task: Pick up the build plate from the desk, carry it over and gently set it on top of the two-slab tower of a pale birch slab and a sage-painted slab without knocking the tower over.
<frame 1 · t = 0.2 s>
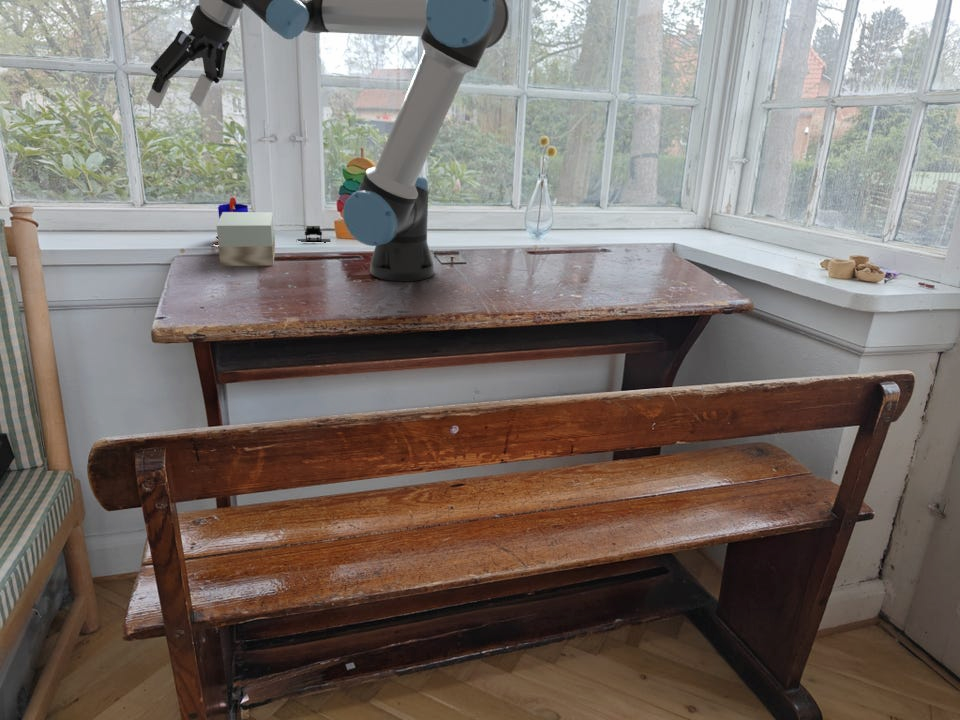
hand: (174, 103, 143), 36 cm above the table, tool tilted 35°, fingers open, 13 cm apart
build plate: (313, 244, 182), on the table
base block: (249, 258, 164), on the table, touching top block
top block: (247, 238, 162), point 5 cm above the table, touching base block
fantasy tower: (236, 243, 177), on the table
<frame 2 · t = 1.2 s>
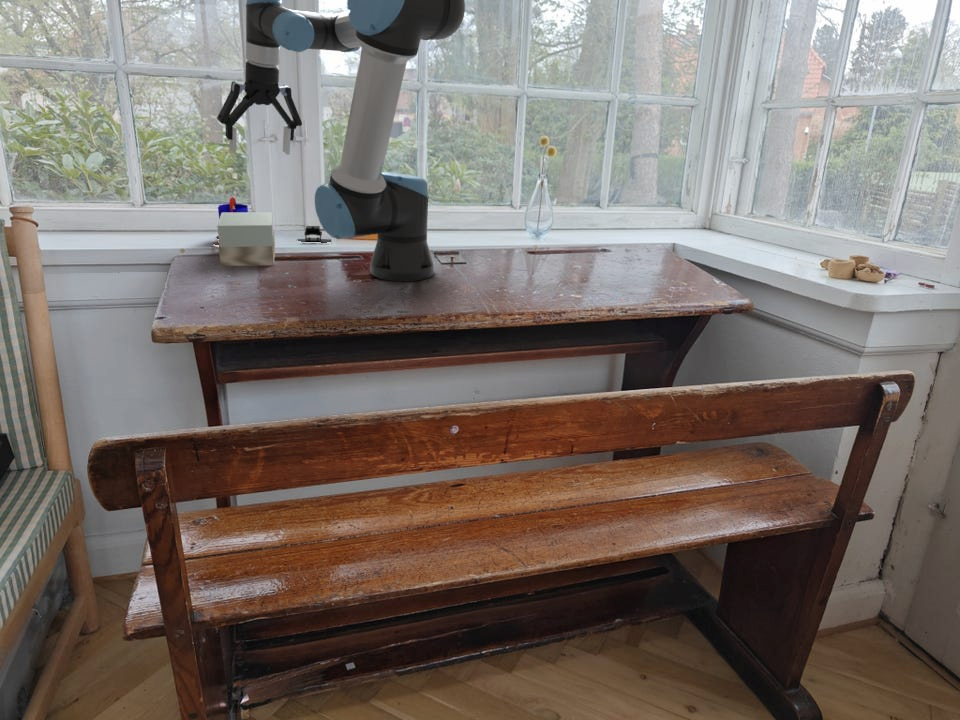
hand: (260, 152, 166), 24 cm above the table, tool pointing down, fingers open, 13 cm apart
base block: (249, 258, 164), on the table
top block: (247, 239, 162), point 5 cm above the table
everything else where it was.
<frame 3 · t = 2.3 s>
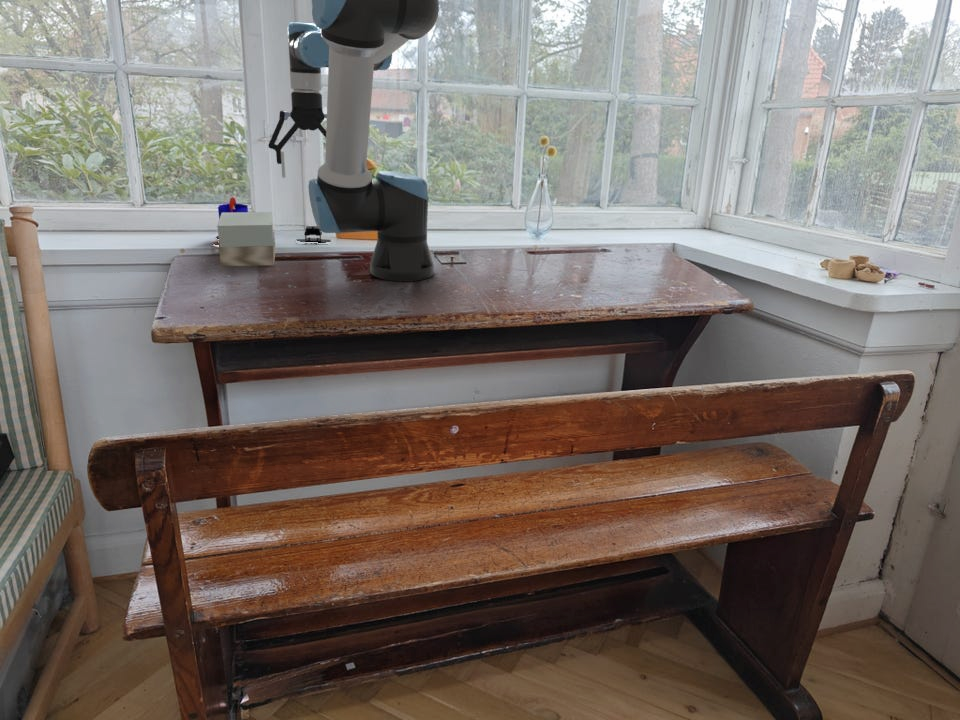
hand: (310, 177, 175), 17 cm above the table, tool pointing down, fingers open, 13 cm apart
base block: (249, 258, 164), on the table, touching top block
top block: (247, 238, 162), point 5 cm above the table, touching base block
everything else where it was.
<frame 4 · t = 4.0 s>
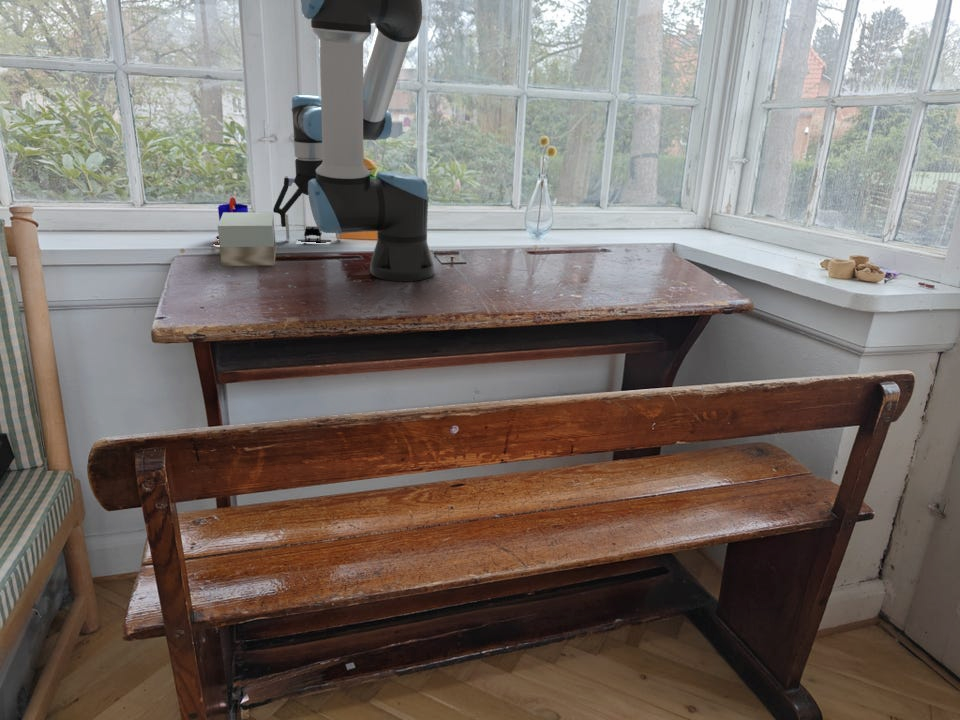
hand: (313, 238, 182), 1 cm above the table, tool pointing down, fingers open, 13 cm apart
nothing on the table moved.
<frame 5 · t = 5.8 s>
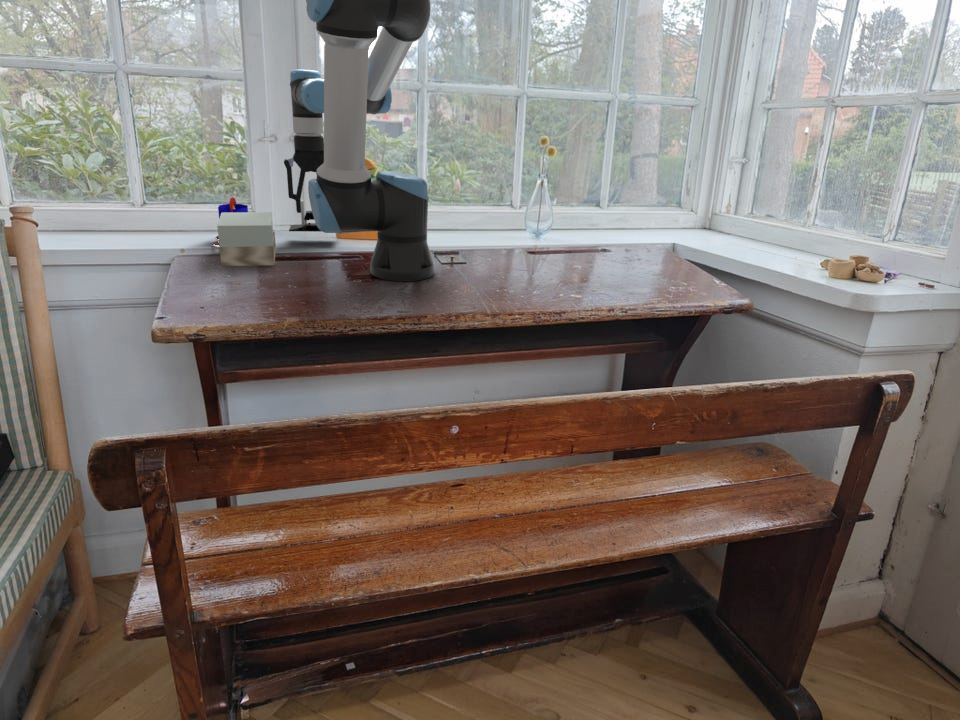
hand: (313, 224, 180), 5 cm above the table, tool pointing down, fingers closed on build plate, 5 cm apart
build plate: (313, 229, 179), point 4 cm above the table, touching gripper
base block: (250, 258, 164), on the table
top block: (247, 239, 162), point 5 cm above the table
everything else where it was.
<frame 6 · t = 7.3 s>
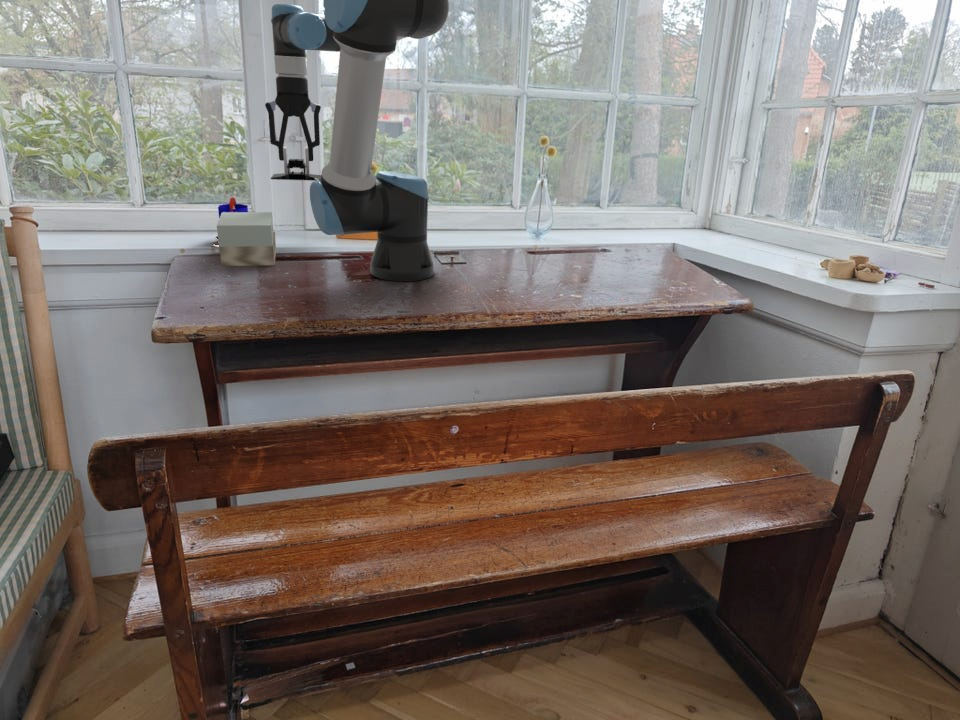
hand: (297, 173, 171), 19 cm above the table, tool pointing down, fingers closed on build plate, 5 cm apart
build plate: (297, 178, 170), point 18 cm above the table, touching gripper
base block: (250, 258, 164), on the table, touching top block
top block: (247, 238, 162), point 5 cm above the table, touching base block
everything else where it was.
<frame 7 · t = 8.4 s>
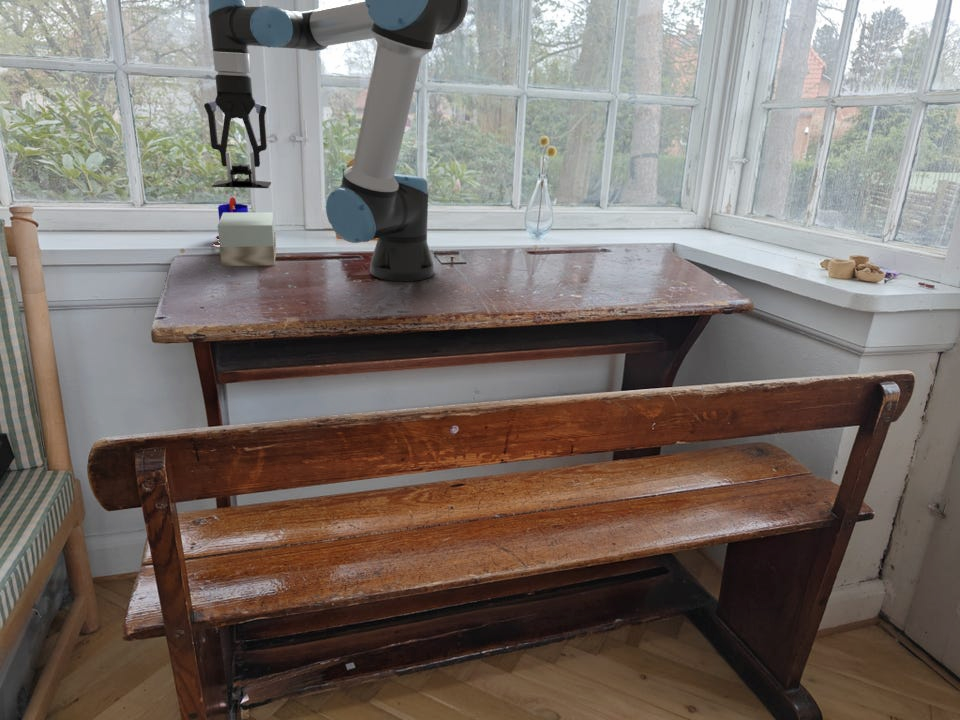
hand: (242, 180, 157), 19 cm above the table, tool pointing down, fingers closed on build plate, 5 cm apart
build plate: (242, 185, 156), point 18 cm above the table, touching gripper
everything else where it was.
when the fingers open (11 cm above the table, at t = 10.3 s): build plate drops 1 cm, resting on top block.
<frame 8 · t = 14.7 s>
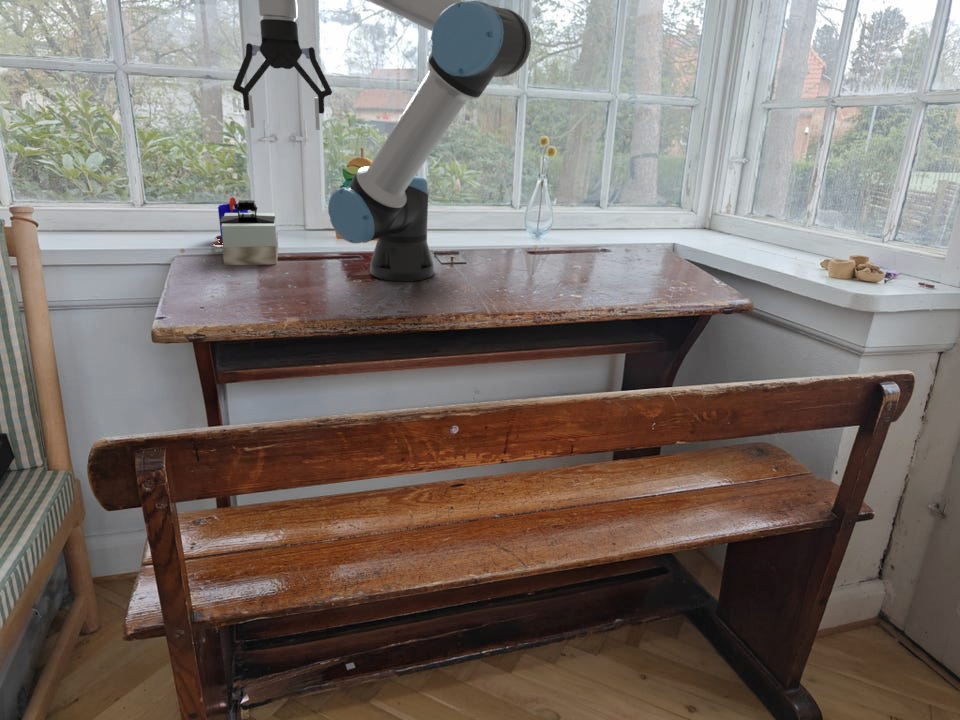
hand: (285, 128, 144), 32 cm above the table, tool pointing down, fingers open, 13 cm apart
build plate: (248, 221, 160), point 9 cm above the table, touching top block
base block: (252, 259, 165), on the table, touching top block
top block: (251, 239, 163), point 4 cm above the table, touching base block, build plate
everything else where it was.
at the end: build plate inside the target area on the top block (1.3 cm from its centre), point 4.8 cm above the top block's base; top block moved 1.4 cm from its start; top block tilted 0° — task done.
